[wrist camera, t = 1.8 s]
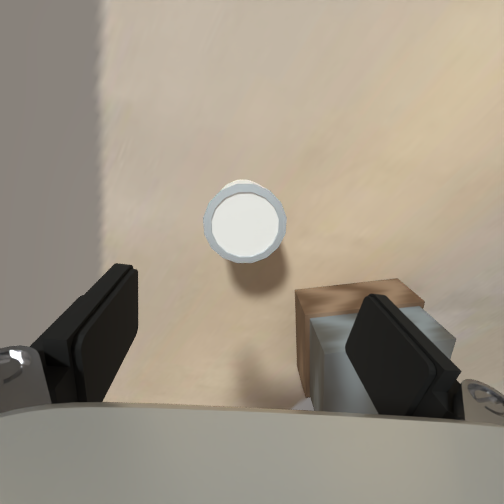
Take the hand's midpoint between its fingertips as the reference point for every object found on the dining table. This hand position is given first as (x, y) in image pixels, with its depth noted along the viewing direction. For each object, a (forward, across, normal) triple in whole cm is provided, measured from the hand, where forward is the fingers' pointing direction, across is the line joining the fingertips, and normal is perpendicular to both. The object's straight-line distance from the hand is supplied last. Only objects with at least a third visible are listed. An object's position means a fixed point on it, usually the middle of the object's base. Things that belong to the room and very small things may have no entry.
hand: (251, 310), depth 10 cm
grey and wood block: (+18, -16, +14) cm, 28 cm away
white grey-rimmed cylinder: (+18, 0, 0) cm, 18 cm away
